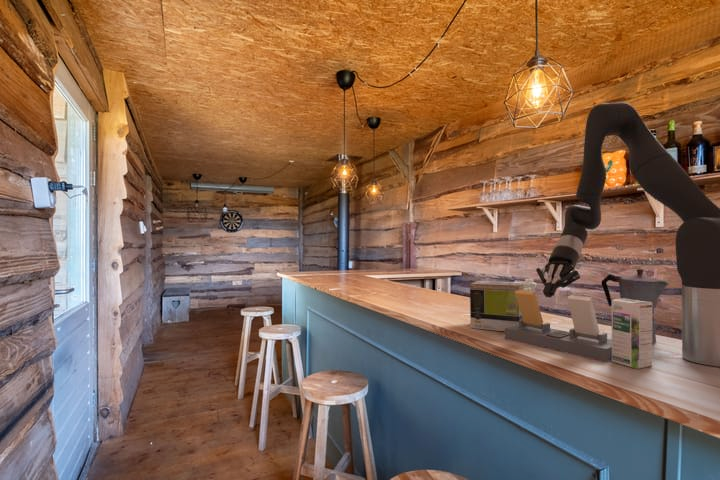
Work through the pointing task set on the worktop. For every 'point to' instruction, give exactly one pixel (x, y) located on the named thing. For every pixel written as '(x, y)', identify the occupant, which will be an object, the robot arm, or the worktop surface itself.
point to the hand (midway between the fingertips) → (547, 295)
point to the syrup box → (632, 333)
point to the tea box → (494, 305)
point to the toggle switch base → (562, 341)
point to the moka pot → (637, 290)
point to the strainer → (529, 285)
